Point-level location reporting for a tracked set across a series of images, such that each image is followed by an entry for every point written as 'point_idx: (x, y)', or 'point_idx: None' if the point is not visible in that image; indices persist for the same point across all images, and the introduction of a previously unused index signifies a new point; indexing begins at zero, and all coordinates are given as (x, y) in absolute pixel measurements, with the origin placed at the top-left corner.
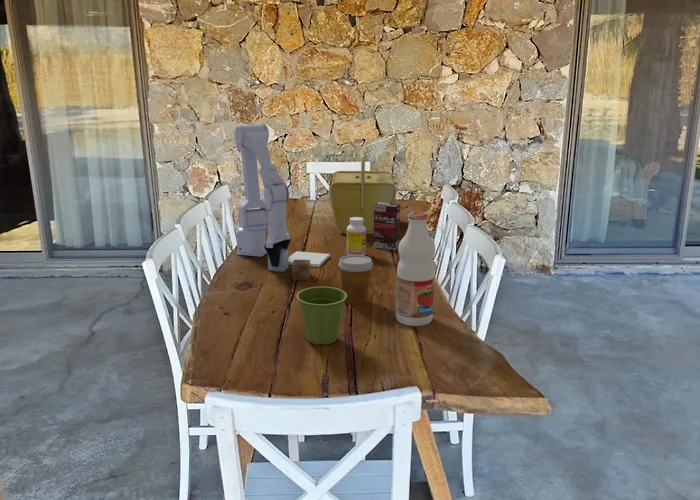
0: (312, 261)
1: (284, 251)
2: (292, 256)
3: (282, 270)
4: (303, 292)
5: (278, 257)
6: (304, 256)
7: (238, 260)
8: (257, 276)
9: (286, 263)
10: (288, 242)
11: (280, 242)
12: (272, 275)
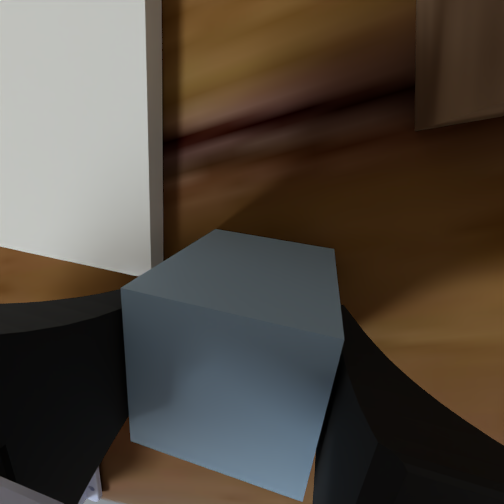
0: (87, 33)
1: (234, 322)
2: (43, 240)
3: (333, 255)
4: None
5: (386, 357)
6: (8, 152)
7: (170, 489)
8: (464, 405)
9: (243, 247)
10: (13, 339)
11: (51, 448)
12: (439, 311)
